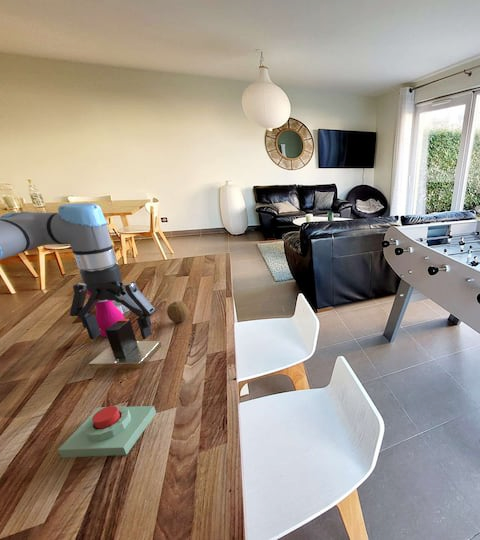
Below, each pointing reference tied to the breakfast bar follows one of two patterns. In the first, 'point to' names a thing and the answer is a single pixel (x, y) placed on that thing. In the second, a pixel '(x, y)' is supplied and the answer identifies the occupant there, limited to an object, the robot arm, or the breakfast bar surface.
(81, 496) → the breakfast bar surface
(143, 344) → the shiny metal plate
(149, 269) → the breakfast bar surface
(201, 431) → the breakfast bar surface
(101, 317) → the pepper mill
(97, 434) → the block
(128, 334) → the black rectangular block
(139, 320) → the robot arm
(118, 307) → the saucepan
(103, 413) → the button
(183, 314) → the fruit
